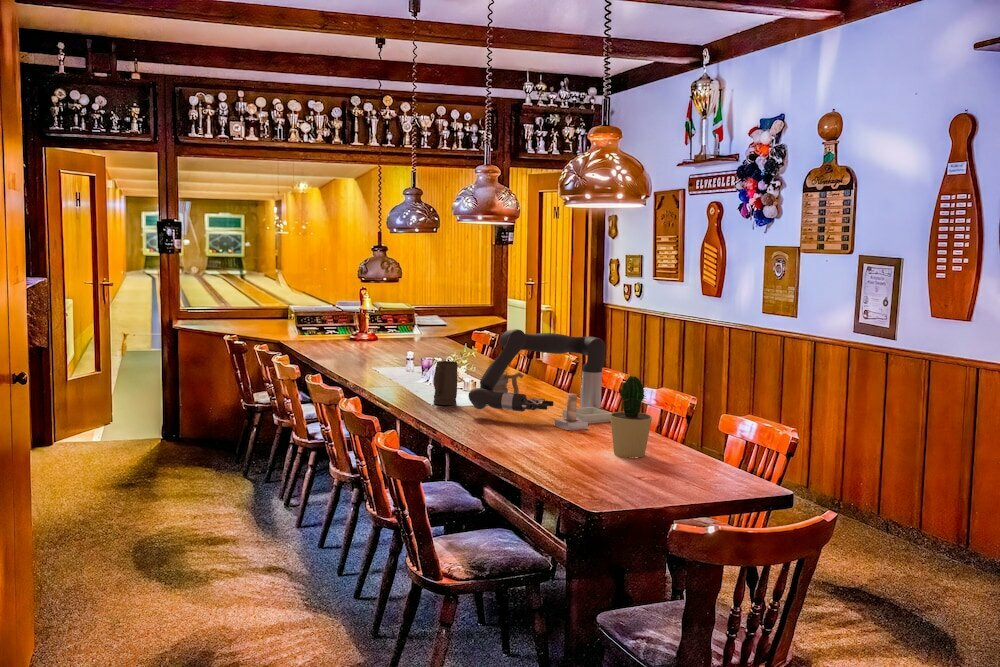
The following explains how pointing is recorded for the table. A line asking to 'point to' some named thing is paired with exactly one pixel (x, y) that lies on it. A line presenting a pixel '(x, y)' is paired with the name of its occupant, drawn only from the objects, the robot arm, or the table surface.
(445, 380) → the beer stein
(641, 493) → the table surface
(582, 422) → the peg holder
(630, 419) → the potted cactus
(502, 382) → the tankard
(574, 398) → the maple peg
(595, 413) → the sage tray
